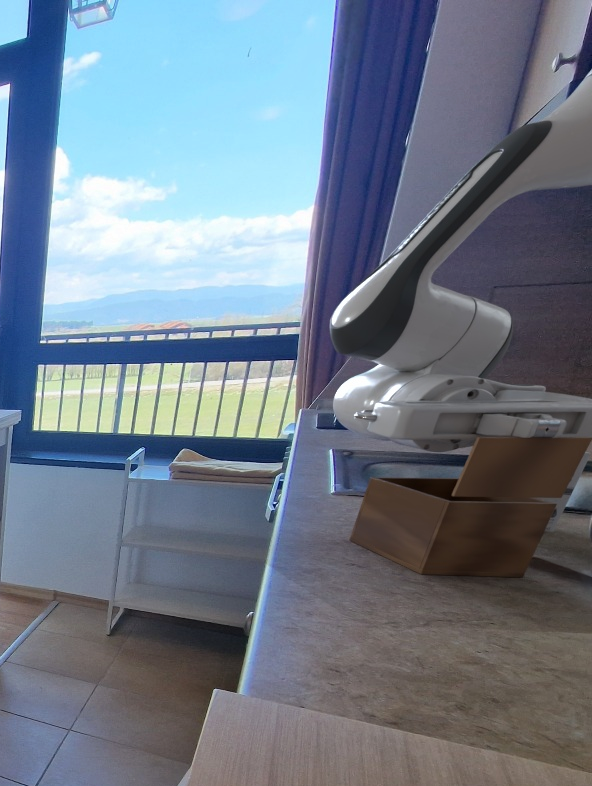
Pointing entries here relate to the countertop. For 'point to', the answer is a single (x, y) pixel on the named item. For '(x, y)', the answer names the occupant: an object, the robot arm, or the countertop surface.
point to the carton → (449, 527)
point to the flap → (520, 467)
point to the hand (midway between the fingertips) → (547, 429)
